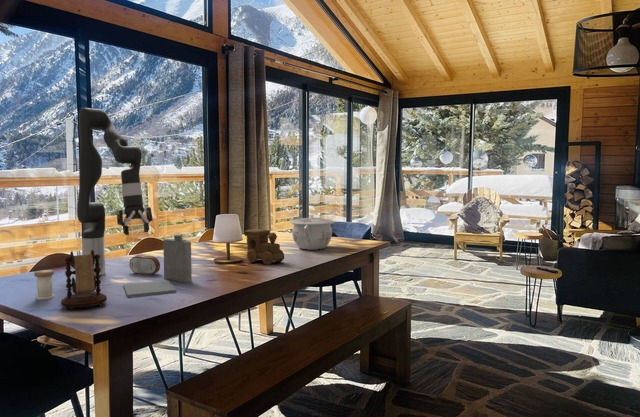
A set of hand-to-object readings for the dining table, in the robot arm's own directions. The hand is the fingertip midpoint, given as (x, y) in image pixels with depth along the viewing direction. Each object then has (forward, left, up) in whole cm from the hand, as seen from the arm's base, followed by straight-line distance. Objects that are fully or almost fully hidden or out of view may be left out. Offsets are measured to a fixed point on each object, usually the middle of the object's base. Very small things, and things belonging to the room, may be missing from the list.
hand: (136, 233), depth 202 cm
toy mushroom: (+4, -34, -22) cm, 41 cm away
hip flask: (-5, +17, -22) cm, 29 cm away
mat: (+8, +3, -22) cm, 24 cm away
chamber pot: (-55, +106, -22) cm, 122 cm away
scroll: (+22, -21, -22) cm, 38 cm away
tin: (-24, +5, -22) cm, 33 cm away
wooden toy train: (-26, +65, -22) cm, 74 cm away
